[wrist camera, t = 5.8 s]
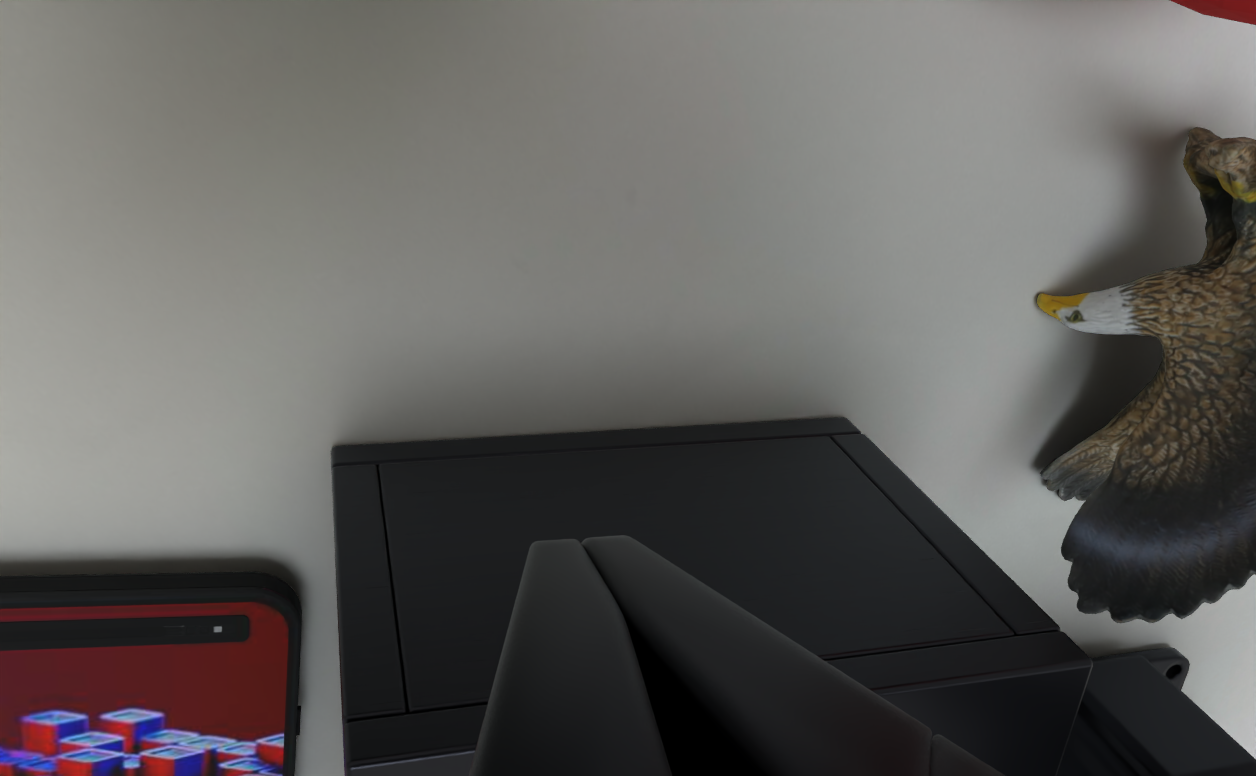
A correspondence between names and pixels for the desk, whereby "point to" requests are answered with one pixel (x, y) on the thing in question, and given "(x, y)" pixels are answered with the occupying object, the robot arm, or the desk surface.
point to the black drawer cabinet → (702, 547)
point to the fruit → (1224, 9)
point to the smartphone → (149, 675)
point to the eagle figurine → (1174, 418)
